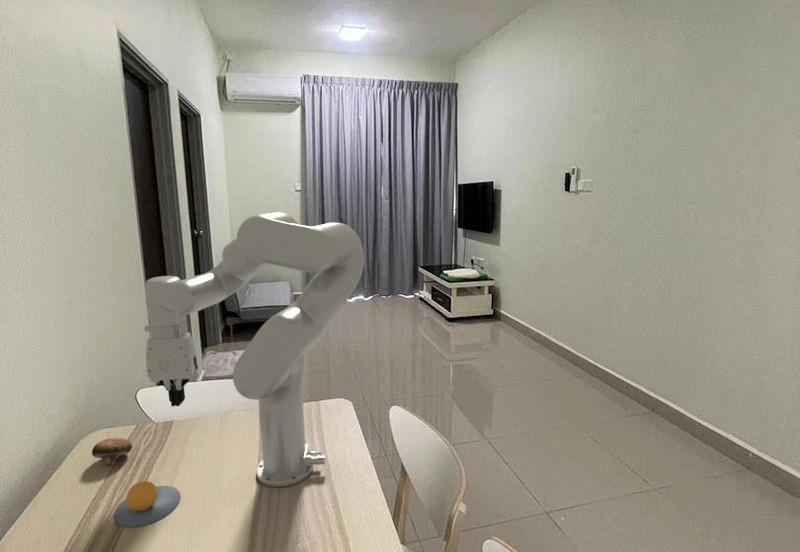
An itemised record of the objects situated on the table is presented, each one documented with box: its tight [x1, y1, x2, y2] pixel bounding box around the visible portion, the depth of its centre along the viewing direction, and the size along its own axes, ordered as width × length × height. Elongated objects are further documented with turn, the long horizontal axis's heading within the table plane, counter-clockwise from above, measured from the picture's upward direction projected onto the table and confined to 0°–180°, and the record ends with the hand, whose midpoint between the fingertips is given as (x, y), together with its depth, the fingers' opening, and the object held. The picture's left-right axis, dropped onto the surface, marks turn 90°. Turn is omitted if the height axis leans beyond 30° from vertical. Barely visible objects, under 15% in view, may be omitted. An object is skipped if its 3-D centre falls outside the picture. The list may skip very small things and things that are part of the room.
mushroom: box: [91, 437, 133, 466], centre depth 109 cm, size 8×8×6 cm
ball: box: [125, 480, 157, 511], centre depth 92 cm, size 6×6×6 cm
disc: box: [113, 485, 182, 528], centre depth 94 cm, size 12×12×1 cm
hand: (177, 403), depth 109 cm, fingers closed
